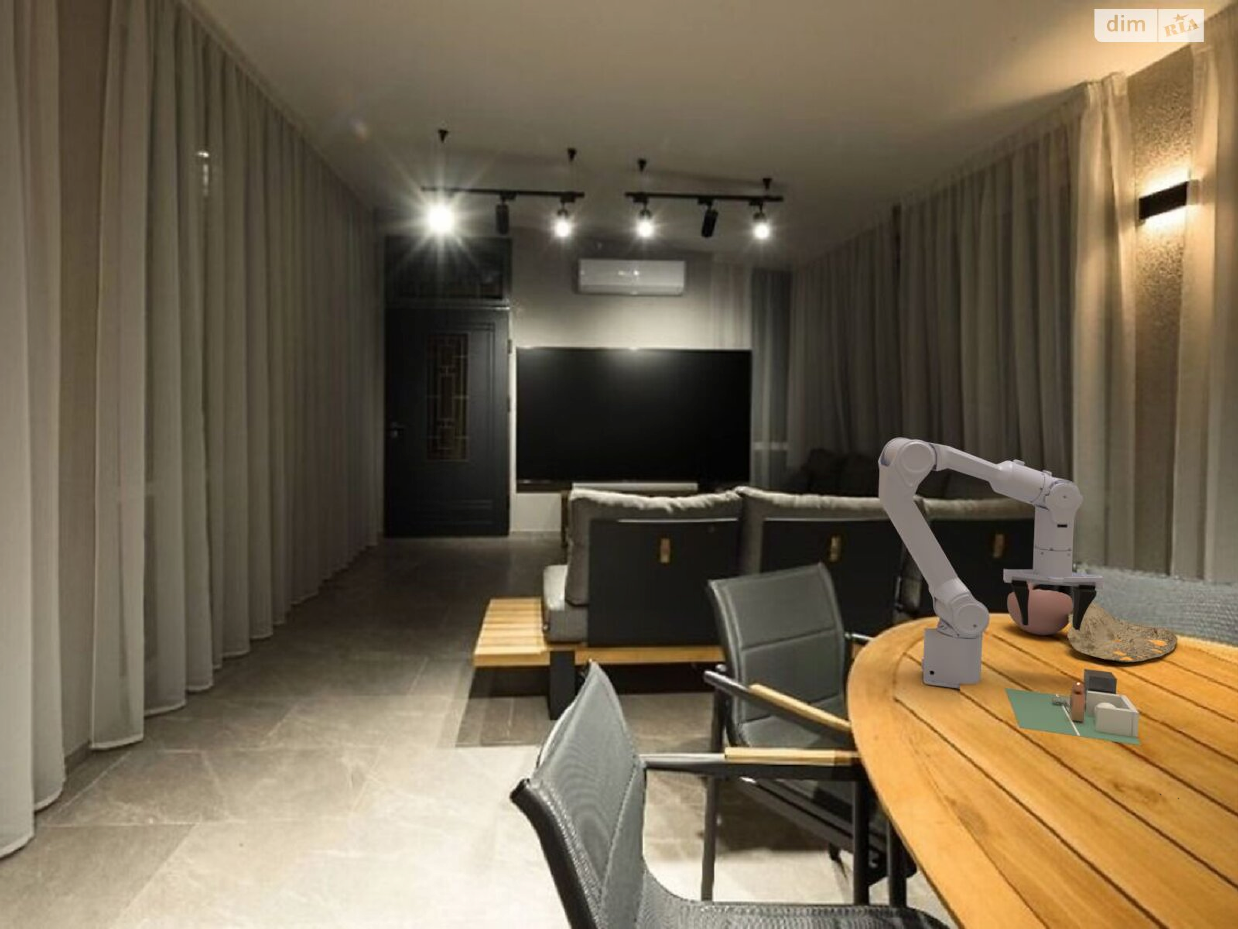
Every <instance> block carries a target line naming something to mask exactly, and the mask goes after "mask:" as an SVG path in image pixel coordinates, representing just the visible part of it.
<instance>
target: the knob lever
mask: <svg viewBox="0 0 1238 929" xmlns="http://www.w3.org/2000/svg"><path fill="white" fill-rule="evenodd" d="M1117 683H1118V678H1117V677H1116V676H1115V675H1114V674H1113V672H1111V671H1105V670H1096V669H1090V668H1089V669H1088V668H1083V683H1082V682H1081V681H1074V682H1072V685H1071V689H1070V693H1069V694H1070V695H1069V696H1070V698H1064V697H1056V696H1052V703H1060V704H1065V706H1066V708H1067V710H1068V712H1069V715H1070V717H1071V719H1072V720H1075V721H1082V722H1084V709H1085V708H1086V697H1087V691H1093V692H1101V693H1109V694H1117V686H1118V685H1117Z"/></svg>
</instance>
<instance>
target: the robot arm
mask: <svg viewBox="0 0 1238 929" xmlns="http://www.w3.org/2000/svg"><path fill="white" fill-rule="evenodd" d="M877 463H878V469H879V478H878V499H879V502H880V504H881V506H882V507H883V509H884V511H885V512H886V514H887V516H888V518H889V519H890V521H891V523H892V524H893V526H894V527H895V530H896V531H897V533H898V534H899V537H900V538H901V540H902V542H903V543H904V545H905V547H906V549H907V550H908V552H909V554H910V555H911V557H912V559H913V560H914V562H915V564H916V565H917V566H916V567H918V569H919V571H920V573H921V575H922V576H923V578H924V579H925V581H926V583H927V585H928V591H929V593H930V595H931V597H932V603H933V604H932V605H933V610H934V613H935V615H936V616H937V617H938V618H939V620H938V622H937V623H936V624H937V625H936V627H935V628H932V627H931V628H929V627H928V628H927V627H925V628H924V634H923V656H922V657H923V658H921V662H920V663H921V667H920V668H921V670H922V674H923V675H922V676H923V677H922V678H923V683H924V684H925V685H930V686H937V687H947V688H953V689H961V686H960V684H961V685H975V684H978V683H979V682H981V677H982V676H981V674H982V673H981V672H982V656H983V655H982V651H983V638H984V635H983V633H985V631H986V630H987V628H988V627H989V624H990V622H991V621H990V620H991V617H990V612H989V610H988V607H986V606H985V605H984V604H983V603H982V602H980V601H978V600H977V599H976V598H975V597H974V596H973V595H972V593H971V591H970V590H969V589H968V587H967V586H966V585H965V584H964V583H963V582H962V580H961V579H960V578H959V577H958V574H957V573H956V571H955V569H954V568H953V566H952V564H951V562H950V561H949V559H948V558H947V556H946V554H945V552H944V550H943V549H942V547H941V545H940V544H939V542H938V540H937V539H936V537H935V534H934V533H933V531H932V530H931V528H930V526H929V524H928V523H927V521H926V519H925V517H924V516H923V514H922V512H921V510H920V509H919V508H918V506H917V504H916V502H915V500H914V496H915V495H916V492H917V490H918V486H919V485H920V484H921V483H922V481H923V480H924V479H925V478H926V477H927V476H928V475H929V474H930V472H931V471H935V472H938V471H943V470H946V469H949V470H954V471H956V472H959V473H962V474H965V475H969V476H972V477H974V478H977V479H981V480H983V481H987V482H988V483H989V484H990V486H991V489H992V490H993V491H994V492H995V493H997V494H1000V495H1003V496H1005V497H1009V498H1011V499H1015V500H1017V501H1021V502H1022V503H1026V504H1029V505H1032V506H1033V507H1035V508H1034V510H1035V511H1034V512H1035V513H1034V527H1033V528H1034V530H1033V531H1034V533H1033V534H1034V535H1033V537H1034V538H1033V557H1032V558H1033V561H1032V568H1031V569H1007V568H1003V581H1004V583H1008V584H1010V586H1011V589H1012V592H1014V593H1015V596H1016V599H1017V601H1018V605H1019V608H1020V612H1021V619H1022V624H1023V625H1027V626H1028V600H1029V591H1030V590H1029V589H1028V585H1027V584H1028V583H1035V584H1039V585H1053V586H1064V587H1065V586H1066V587H1067V586H1068V587H1073V608H1074V610H1073V619H1072V625H1073V628H1074V629H1075V630H1080V627H1081V623H1082V620H1083V617H1084V615H1085V613H1086V611H1087V609H1088V607H1089V605H1090V604H1091V602H1093V601H1094V600H1095V598H1096V597H1097V592H1098V591H1097V590H1096V589H1098V590H1099V589H1100V590H1103V589H1104V577H1103V576H1102V575H1100V574H1089V573H1083V572H1082V573H1080V572H1075V571H1074V572H1073V554H1074V531H1075V530H1074V529H1075V516H1076V515H1075V514H1076V512H1077V510H1079V508H1080V507H1081V506H1082V503H1083V502H1084V501H1083V500H1084V496H1083V495H1082V494H1081V492H1080V489H1079V487H1078V486H1077V485H1076V483H1074V482H1073V481H1070V480H1068V479H1065V478H1064V479H1063V478H1059V477H1053V476H1052V474H1053V473H1052V472H1051V471H1048V470H1042V471H1040V470H1037V469H1035V468H1031V467H1028V466H1026V465H1025V463H1026V462H1024V461H1022V460H1019V459H1014V460H1013V461H1011V460H1005V461H1002V462H1000V463H993V462H990V461H988V460H985V459H983V458H980V457H978V456H975V455H972V454H970V453H968V452H965V451H963V450H960V449H956V448H954V447H952V446H948V445H945V444H944V445H943V444H939V443H933V442H927V441H924V440H921V439H910V438H907V437H896V438H893V439H891V440H890V441H888V442H887V443H886V444H885V446H884V447H883V449H882V451H881V454H880V455H879V458H878V461H877Z"/></svg>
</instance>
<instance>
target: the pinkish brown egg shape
mask: <svg viewBox="0 0 1238 929" xmlns="http://www.w3.org/2000/svg"><path fill="white" fill-rule="evenodd" d="M1027 585H1028V589H1029V590H1030V591H1029V600H1028V626H1027V625H1023V624H1022V619H1021V612H1020V608H1019V605H1018V601H1017V599H1016V596H1015V593H1014V591H1012V592H1011V593H1008V596H1007V601H1006V602H1007V603H1006V604H1007V610H1008V614H1009V615H1010V617H1011V619H1012V621H1013V622H1014V623H1015V624H1016V625H1017V626H1018V627H1019V628H1021V630H1023V631H1025V632H1028V633H1030V634H1032V635H1037V636H1038V635H1039V636H1050V635H1053V634H1057V633H1059V632H1062V630H1064V629H1065V628H1066V627H1067V626H1068V625H1069V624H1070V621H1069V620H1068V619H1069V617H1068V616H1069V613H1070V614H1071V615H1072V614H1073V608H1074V602H1073V599H1072V598H1071V596H1070V595H1068V594H1066V593H1063V592H1059V591H1054V590H1048V589H1047V590H1044V589H1041V588H1038V589H1037V588H1036V589H1034V588H1035V587H1036V586H1039V585H1040V584H1035V583H1027Z"/></svg>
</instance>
